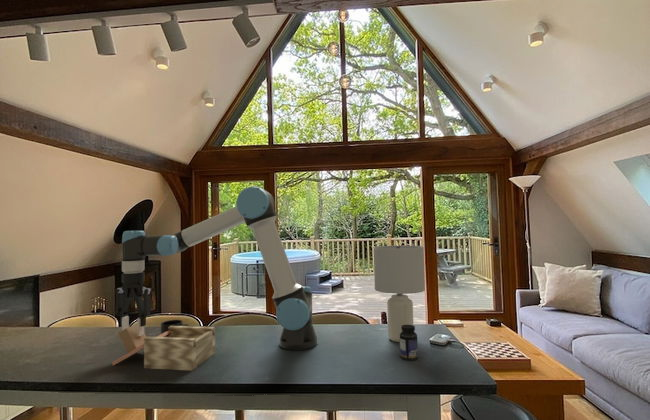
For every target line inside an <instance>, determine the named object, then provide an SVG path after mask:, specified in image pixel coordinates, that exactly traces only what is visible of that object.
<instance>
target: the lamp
mask: <svg viewBox="0 0 650 420" xmlns="http://www.w3.org/2000/svg"><path fill="white" fill-rule="evenodd" d="M424 248H425V247H424V246H422V245H408V244H407V245H401V244H397V245H377V246H373V269H374V272H373V273H374V276H373V277H374V290H375V291H377V292H378V293H379V292H380V293H385V294H391V297H390V298H389V299H387V302H386V304H387V306H386V307H387V309H386V310H387V312H386V313H387V335H388V338H389V340H391V341H392V342H395V343H400V333H401V332H402V329H401V326H402V325H413V326H415V324H414V305H413V303H414V302H413V300H412V299H410V297H409V296H408V294H409V295H410V294H411V295H412V294H419V293H423V292H425V291H426V286H425V284H426V282H425V279H426V277H425V257H424V256H425V254H424V253H425V252H424V251H425V250H424Z"/></svg>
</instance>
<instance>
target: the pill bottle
mask: <svg viewBox="0 0 650 420" xmlns="http://www.w3.org/2000/svg"><path fill="white" fill-rule="evenodd" d="M413 325H414V324H413ZM413 325H402V326H401V329H402V332H401V333H400V342H399V351H400V355H399V356H400V358H401V359H403V360H406V361H415V360H417V359H418V358H419V352H418V351H419V350H418V349H419V348H418V346H419V345H418V334H417V333H416V332H415V330H416V326H415V325H414V326H413Z"/></svg>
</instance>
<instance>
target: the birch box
mask: <svg viewBox="0 0 650 420" xmlns="http://www.w3.org/2000/svg"><path fill="white" fill-rule="evenodd" d="M168 329H171V331H172V332H171V334H170V335H168V336H166V337H157V336H147V337H146V338H144V349H143V351H144V353H143V354H144V355H143V368H144V369H152V370H157V369H158V370H172V371H173V370H175V371H194V370H195V369H197V368H198V367H199V366H201V365H202V364H204V363H205V362H206V361H208V359H210V358H212V357H213V356H214V355H215V354H216V327H215V326H203V325H202V326H201V325H199V326H198V325H197V326H195V325H190V326H170V327H168Z"/></svg>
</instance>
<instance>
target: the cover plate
mask: <svg viewBox="0 0 650 420" xmlns="http://www.w3.org/2000/svg"><path fill="white" fill-rule="evenodd" d="M171 332H172V331H171V329H170V330H168V331H166V332H164V333H163V334H161V333H160V334H159V335H157V336H156V337H164V336H166V335H168V334H169V333H171ZM118 336H119V337H120V339H121V341H122V344H123V345H124V348H125V350H126V352H127V353H126V354H124V355H122V356H120V357H118V358H117V359H115V360H113V361H112V362H111V364H112V366H115V365H117V364H119V363H121V362H122V361H124V360H125V359H128V358H130V357H131V356H133V355H135V354H137V353H139V352H140V351H142V350H144V338H146V337H148V336H147V334H146V333H145V331H144V334H143V335H141V336H137V323H135V324H133V325H131V326H129V327H128V328H126V329H124V330H123V331H122V330H121V331H120V332H119V331H118Z"/></svg>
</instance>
